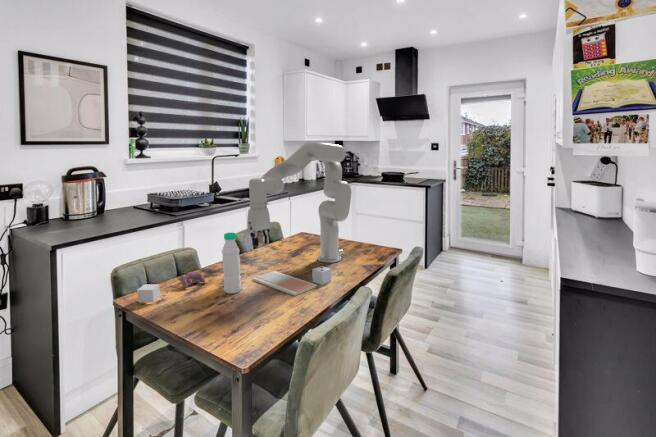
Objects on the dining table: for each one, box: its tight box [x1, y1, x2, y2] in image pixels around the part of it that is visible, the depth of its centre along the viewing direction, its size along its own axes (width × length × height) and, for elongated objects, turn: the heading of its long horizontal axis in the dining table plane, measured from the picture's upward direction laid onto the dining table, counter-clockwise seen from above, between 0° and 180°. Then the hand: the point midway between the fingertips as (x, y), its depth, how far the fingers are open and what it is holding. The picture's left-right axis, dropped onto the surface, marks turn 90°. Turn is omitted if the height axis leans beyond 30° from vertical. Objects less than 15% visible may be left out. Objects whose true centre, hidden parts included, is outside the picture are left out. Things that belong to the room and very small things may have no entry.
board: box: [252, 270, 318, 297], centre depth 172 cm, size 13×28×1 cm, turn 48°
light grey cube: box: [136, 283, 161, 302], centre depth 153 cm, size 6×6×6 cm
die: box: [311, 265, 332, 286], centre depth 174 cm, size 6×6×6 cm
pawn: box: [255, 230, 266, 248], centre depth 179 cm, size 4×4×7 cm
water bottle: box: [221, 232, 242, 294], centre depth 162 cm, size 7×7×25 cm
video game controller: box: [179, 271, 206, 289], centre depth 170 cm, size 10×5×7 cm, turn 141°
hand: (260, 244), depth 180 cm, fingers closed on pawn, 4 cm apart
